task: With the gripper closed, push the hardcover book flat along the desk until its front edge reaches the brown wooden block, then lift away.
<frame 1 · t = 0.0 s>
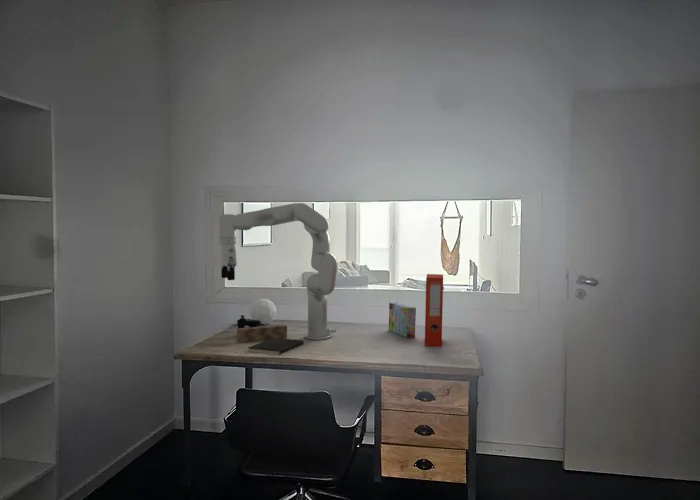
hand: (228, 278, 267), 31 cm above the table, tool pointing down, fingers open, 9 cm apart
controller: (248, 336, 293), on the table
file binder: (433, 342, 280), on the table
brown wooden block: (262, 339, 284), on the table
snack box: (401, 334, 301), on the table
hardcover book: (276, 349, 267), on the table
geometric sphere: (263, 324, 325), on the table
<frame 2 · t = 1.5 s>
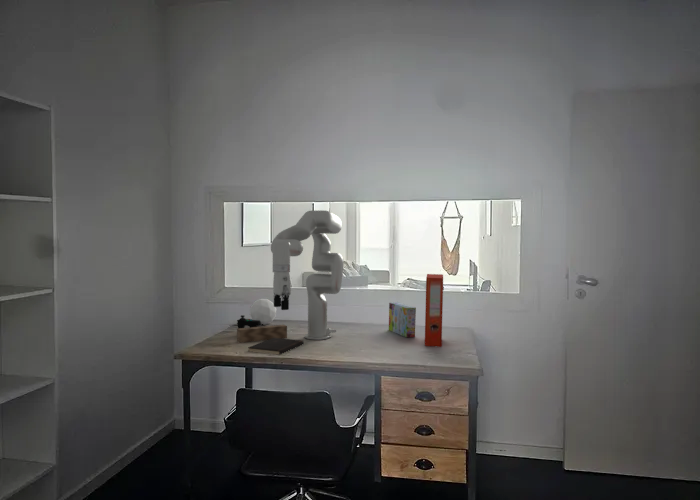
hand: (281, 308, 253), 20 cm above the table, tool pointing down, fingers open, 9 cm apart
nothing on the table moved.
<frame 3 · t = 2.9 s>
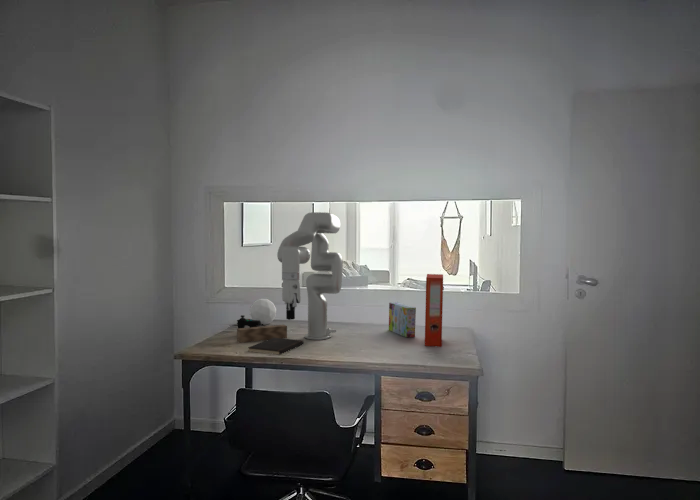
hand: (290, 319, 251), 16 cm above the table, tool pointing down, fingers closed
nothing on the table moved.
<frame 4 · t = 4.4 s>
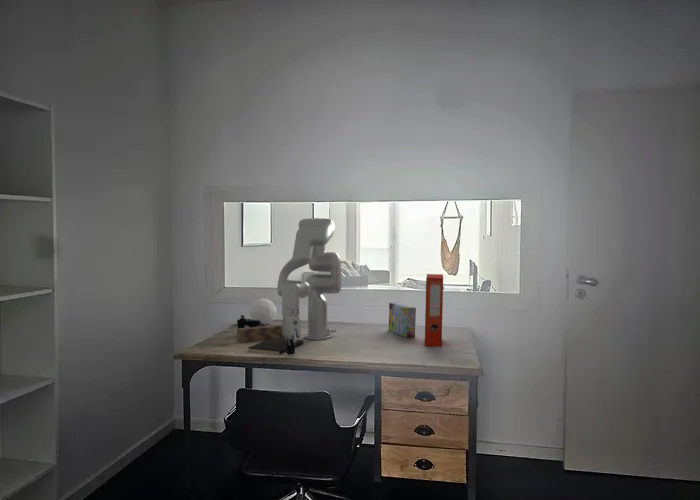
hand: (290, 353, 252), 1 cm above the table, tool pointing down, fingers closed
nothing on the table moved.
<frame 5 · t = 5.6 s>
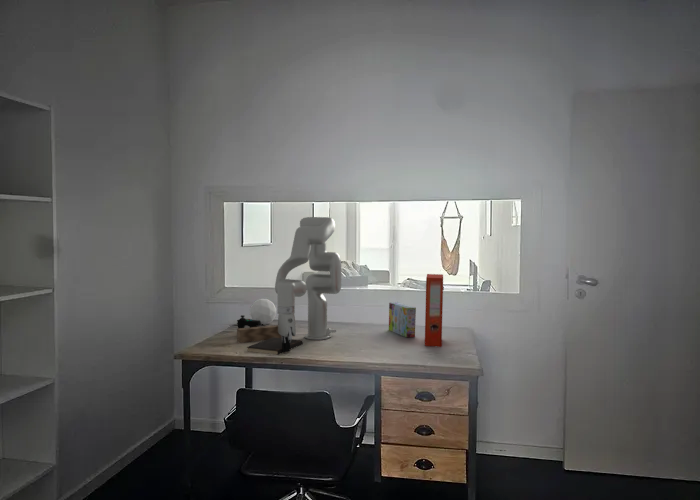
hand: (286, 351, 257), 1 cm above the table, tool pointing down, fingers closed
hardcover book: (275, 348, 267), on the table, touching gripper
everything else where it was.
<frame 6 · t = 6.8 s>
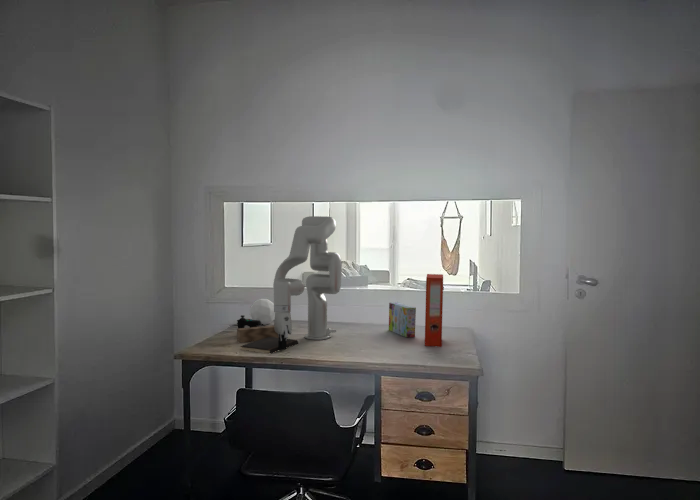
hand: (282, 349, 261), 1 cm above the table, tool pointing down, fingers closed
hardcover book: (269, 348, 269), on the table
everything else where it was.
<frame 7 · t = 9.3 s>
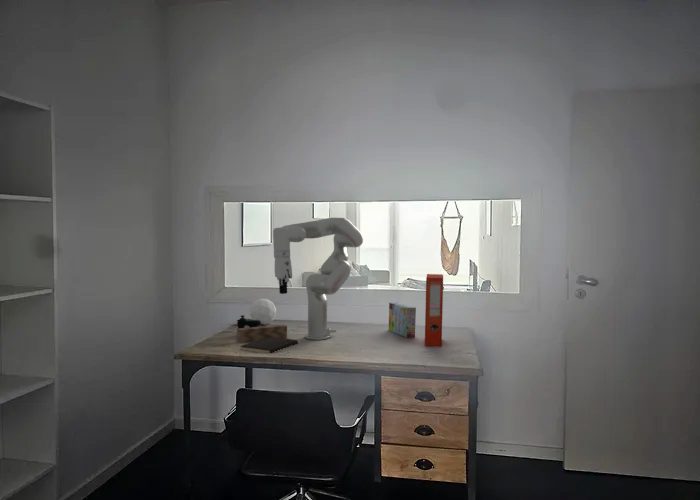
hand: (283, 293, 272), 24 cm above the table, tool pointing down, fingers closed
nothing on the table moved.
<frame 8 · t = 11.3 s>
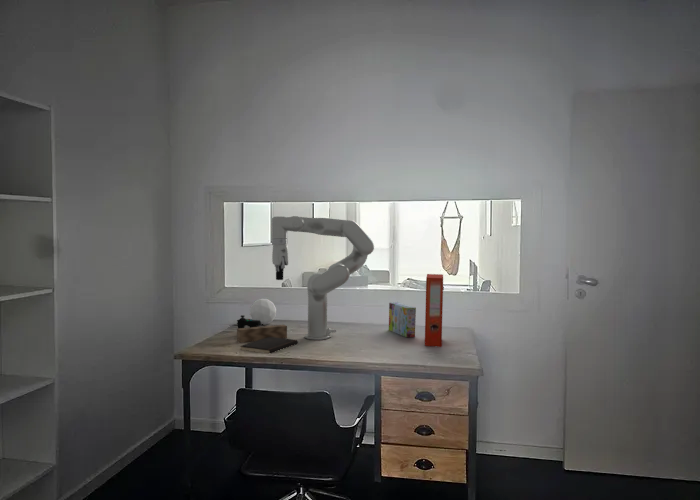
hand: (279, 279, 284), 29 cm above the table, tool pointing down, fingers closed
nothing on the table moved.
at the end: hardcover book inside the target area (2.8 cm from its centre), on the table; hardcover book moved 4.1 cm from its start; hardcover book tilted 0° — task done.
